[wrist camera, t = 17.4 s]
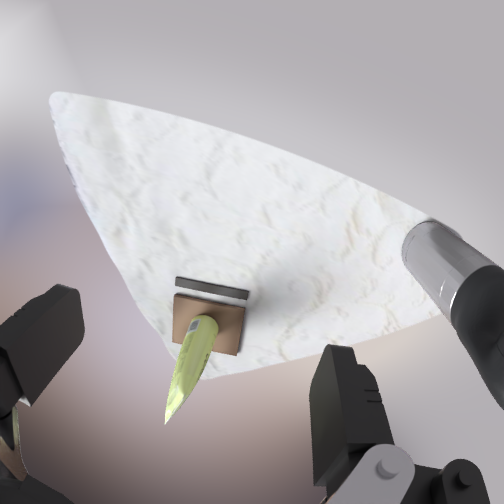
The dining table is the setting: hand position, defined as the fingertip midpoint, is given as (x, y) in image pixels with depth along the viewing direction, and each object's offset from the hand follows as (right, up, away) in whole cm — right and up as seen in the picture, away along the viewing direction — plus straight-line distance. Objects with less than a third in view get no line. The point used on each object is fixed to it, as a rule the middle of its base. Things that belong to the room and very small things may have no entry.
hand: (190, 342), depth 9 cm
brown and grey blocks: (-6, -8, +43) cm, 44 cm away
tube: (-6, -10, +43) cm, 44 cm away
